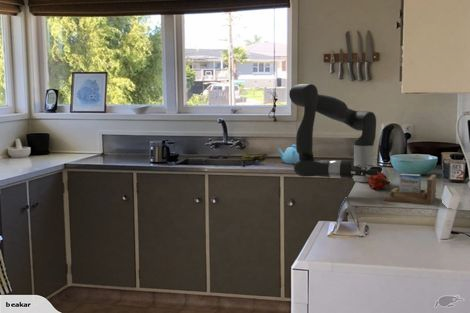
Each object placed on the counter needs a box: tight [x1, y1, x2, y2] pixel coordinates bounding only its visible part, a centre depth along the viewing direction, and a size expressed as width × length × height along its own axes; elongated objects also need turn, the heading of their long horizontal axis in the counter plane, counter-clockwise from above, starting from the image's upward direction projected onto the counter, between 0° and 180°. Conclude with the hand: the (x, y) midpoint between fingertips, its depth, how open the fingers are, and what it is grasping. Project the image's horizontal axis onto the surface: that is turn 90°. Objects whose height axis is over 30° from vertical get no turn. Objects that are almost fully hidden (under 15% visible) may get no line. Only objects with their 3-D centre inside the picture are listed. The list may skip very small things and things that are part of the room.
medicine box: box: [398, 173, 422, 193], centre depth 245 cm, size 8×4×9 cm, turn 67°
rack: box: [383, 174, 437, 205], centre depth 245 cm, size 14×18×10 cm
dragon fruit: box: [366, 171, 391, 191], centre depth 270 cm, size 8×8×12 cm
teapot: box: [277, 144, 299, 165], centre depth 358 cm, size 15×15×11 cm
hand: (379, 171), depth 250 cm, fingers open, 8 cm apart
